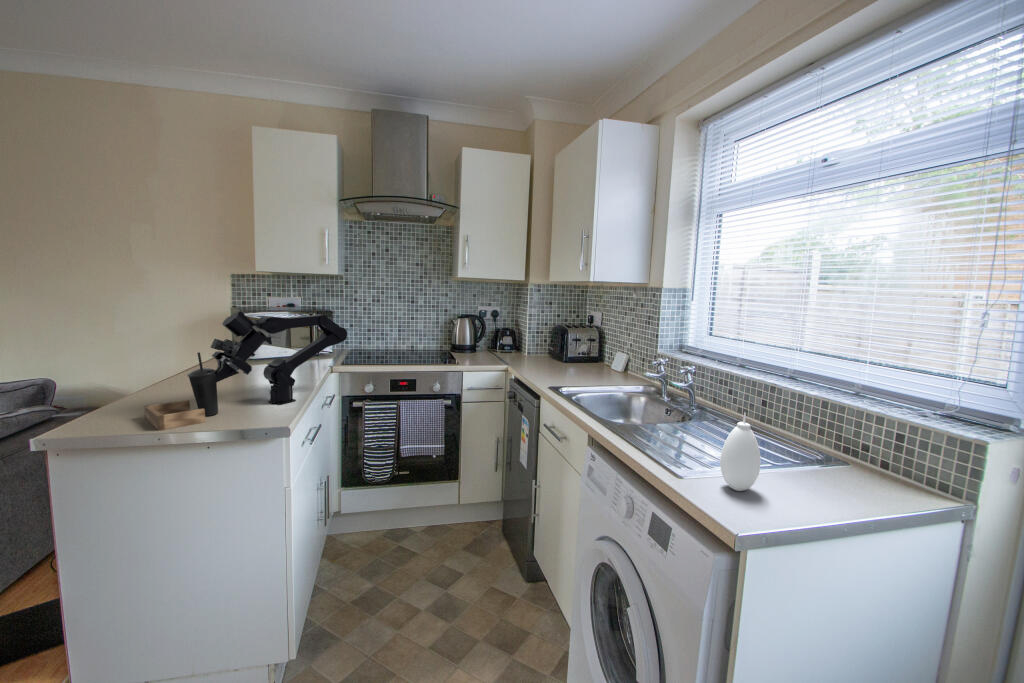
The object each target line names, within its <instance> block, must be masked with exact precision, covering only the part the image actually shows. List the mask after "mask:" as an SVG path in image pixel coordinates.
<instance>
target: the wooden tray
mask: <svg viewBox="0 0 1024 683" xmlns="http://www.w3.org/2000/svg"><path fill="white" fill-rule="evenodd" d="M190 405H191V404H190V400H189V399H184V400H177V401H170V402H163V403H156V404H150V405H145V406H144V407H143V408H144V419H145V420H146V421H147V420H148V421H149V422H150V424H151V425H152V424H153V425H154V426H155V427H154V426H153V425H152V426H153V427H154V428H156V429H157V428H158V429H159V430H160V431H164V430H163V429H165V430H170V428H171V429H176V428H180V427H186V426H192V425H197V424H203V423H206V416H205V409H204V408H203V409H198V408H197V409H191V406H190ZM148 421H147V422H148ZM149 422H148V423H149ZM158 429H157V430H158ZM159 430H158V431H159Z"/></svg>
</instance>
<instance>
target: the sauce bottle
mask: <svg viewBox="0 0 1024 683" xmlns="http://www.w3.org/2000/svg"><path fill="white" fill-rule="evenodd" d="M746 413H747V412H746V411H744V413H743V418H742V421H739V422H737V423H736V426H735V427H734V428H733V429H732V430H731V431H730V432H729V434H728V436H727V438H726V439H725V441H724V443H723V447H722V449H721V453H720V460H719V464H720V465H719V466H720V471H721V475H722V478H723V480H724V482H725V483H726V484H727V485H728V486H729V488H731V489H732V490H734V491H737V492H741V491H746V490H747V489H749V488H751V487H752V486H753V485H755V483H756V481H757V480H758V477H759V475H760V471H761V464H762V463H761V459H762V458H761V453H760V452H761V451H760V447H759V443H758V441H757V438H756V435H755V434H754V431H753V430H752V428H751V427H752V426H751V424H750V423H748V422H746V418H747V414H746Z"/></svg>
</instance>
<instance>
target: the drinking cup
mask: <svg viewBox="0 0 1024 683" xmlns="http://www.w3.org/2000/svg"><path fill="white" fill-rule="evenodd" d="M197 358H198V364H199V368H198V369H195V370H192V371H190V372H189V373H188V374H186V375H187V377H188V379H189V383H190V386H191V390H192V393H193V396H194V399H195V403H196V406H197V409H203V408H204V409H205V417H211V416H214V415H216V414H218V413H219V406H218V405H219V403H218V388H217V386H218V385H217V383H218V382H216V372H217V370H216V369H213V368H210V367H209V368H208V367H203V362H202V356H201V352H200V351H199V352H197Z"/></svg>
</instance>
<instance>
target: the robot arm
mask: <svg viewBox="0 0 1024 683" xmlns="http://www.w3.org/2000/svg"><path fill="white" fill-rule="evenodd" d="M221 324H222V326H223V327H224V328H226V329H227V330H228V331H229V332H231V333H232V334H233V335H234V336H235V337H243V338H241V340H239V341H233V340H231V339H227V338H226V339H224V340H222V339H218V338H214V339H213V341H212V343H211V345H210V348H211V349H214V350H217V351H215V352H214V353H213V354H212V355H211V357H212V358H214V359H216V362H217V367H216V369H215V370H217V372H216V382H217V383H219V382H220V381H223V380H226V379H228V378H230V377H233V376H235V375H239V374H240V372H239V371H242V373H243V374H244V375H247V376H248V375H249V374H250V373H251V372H252V371H253V368H252V367H253V366H252V365H250V364H249V363H248V362H247V361H248V360H249V359H250V357H255V356H256V354H255V352H256V351H258V350H259V348H261V346H262V345H263V344H267V345H270V346H271V345H272V343H273V341H272V338H273V337H272V336H269V335H266V334H270V335H274V334H277V333H281V332H282V333H283V332H285V331H286V330H289V329H295V328H306V327H314V326H317V327H318V328H319V329H320V331H321V334H320V336H319V337H318V338H317V339H315V340H313V341H311V342H310V343H309V344H307V345H305V346H304V347H303V348H301V349H299V350H298V351H296V352H295V353H293V354H292V355H290V356H289V357H287V358H285V359H283V358H280V357H277V358H274V360H272V361H271V362H268V363H267V364H266V366H265V367H264V369H263V374H262V375H263V377H264V379H265V380H267V381H268V382H269V384H270V390H269V397H270V398H269V400H268V403H270V402H272V403H271V404H275V403H277V404H276V405H284V404H283V403H285V404H288V403H287V402H289V403H293V402H295V401H297V399H294V395H293V390H294V389H293V386H294V385H295V383H296V379H295V378H293V377H292V375H293V373H294V372H295V370H296V369H297V368H298V367H300V366H301V365H303V364H304V363H305V362H308V361H309V360H311V359H312V358H313V357H315V356H316V355H317V354H320V353H321V352H323V351H324V350H326V349H327V348H329V347H332V346H335V345H338V344H340V343H343V342H345V341H346V340H347V339H348V331H347V329H346V328H345V327H343V326H340V325H338V324H337V323H336V322H334V321H333V320H332V319H330V318H329V317H328V316H327V315H326V314H319V313H318V314H317V313H316V314H315V315H314V314H313V315H300V316H291V317H290V316H289V317H283V316H274V315H272V316H270V315H264V316H260V317H259V319H256V320H255V319H254V320H252V319H250V318H249V317H247V316H246V314H245V313H244V312H243V311H241V310H237V311H236V312H234V313H232V314H231V315H230V316H227V317H226V318H225V319H224V320H223V322H222V323H221ZM256 329H258V330H259V331H258V330H256ZM265 333H266V334H265ZM292 401H293V402H292Z"/></svg>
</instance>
